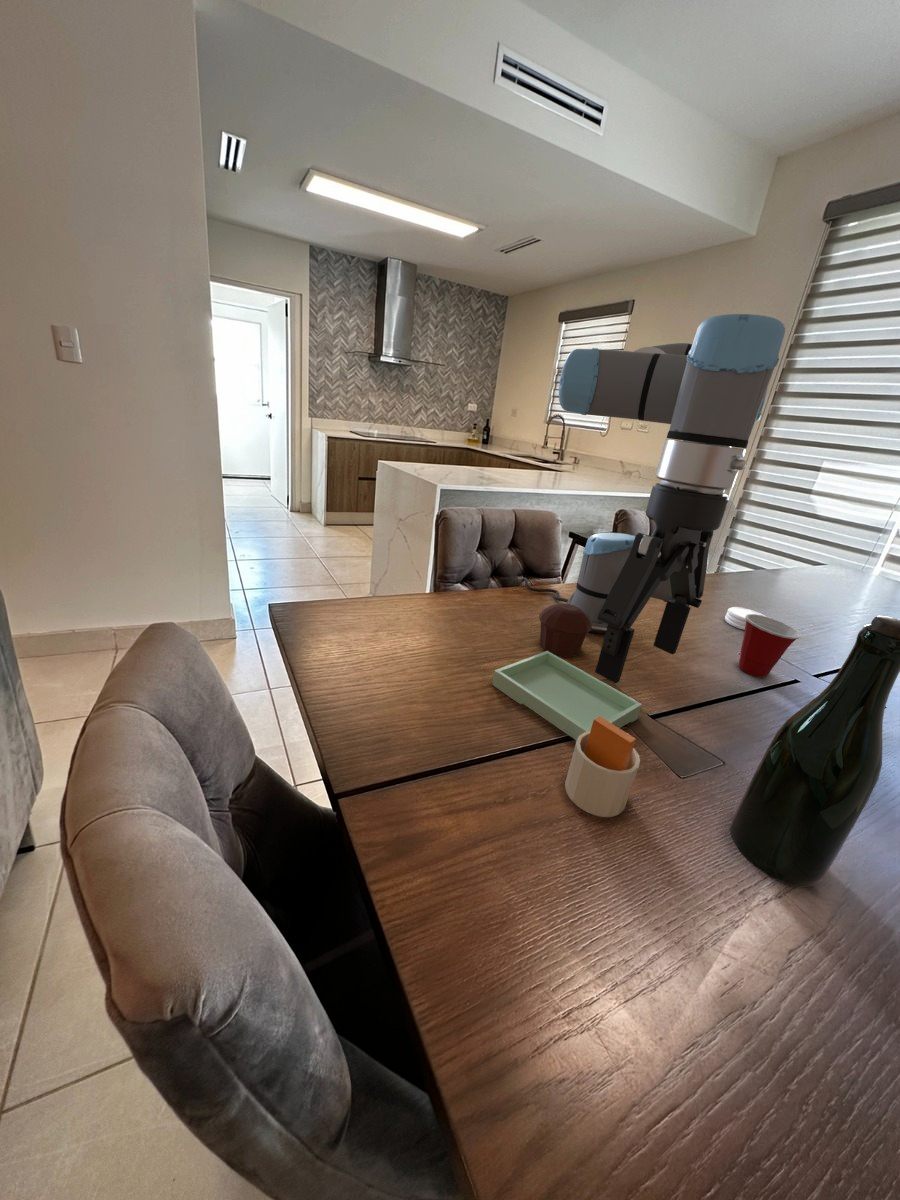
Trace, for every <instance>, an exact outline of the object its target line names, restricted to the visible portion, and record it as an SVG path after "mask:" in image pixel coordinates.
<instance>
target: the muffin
mask: <svg viewBox="0 0 900 1200" xmlns="http://www.w3.org/2000/svg"><path fill="white" fill-rule="evenodd" d="M538 619H539V621H540V636H539V644H540V646H541V647H542V649H543V650H544V652H545V651H549V652H550V653H552V654H554V655H556V656H557V657H564V658H570V657H575V656H578V655H579V652H580V650H581V648H582V646H583V643H584V641H585V639H586V636H587V634H588V633H590V632H589V631H590V630H591V629H592V624H591V622H590V618H589V617H588V615H587V614H586V613H585V612H583V611H582V610H581V609H580V608H578V607H576V606H574V605H570V604H566V603H565V602H561V603H555V604H551V605H549V606H547V607H545V608H544V609H543V610H542V611H541V612H540V613H539V618H538Z"/></svg>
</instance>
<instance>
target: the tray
mask: <svg viewBox="0 0 900 1200" xmlns="http://www.w3.org/2000/svg"><path fill="white" fill-rule="evenodd" d="M492 678H493V679H492V681H491V682H492V683H491V686H493V687H495V688H496V689H497V690H499V691H500V692H502V693H503V694H505V695H506V696H508V698H510V699H511V700H513V701H515V702H516V703H518V704H519V705H524V706H526V707H527V708H529V709H530V710H531V711H533V712H534V713H536V714H537V715H539V716H540V717H542V718H543V719H545V720H546V721H547V722H549V723H550V724H552V725H553V726H555V727H557V728H558V729H559V730H560V731H562V732H563V733H565V734H566V735H568V736H569V737H570V738H571V739H574V740H575V742H576V741H577V739H578V737H579V735H581V734H583V733H585V732H588V731H591V728H592V724H593V720H594V719H595V718H597V717H599V716H600V717H602V718H603V719H605V720H607V721H608V722H610V723H611V724H613V725H615V726H616V727H618V728H619V729H621V728H623V727H625V726H626V725H628V724H629V723H634V722H636V721H637V720H638V718H639V716H640V713H641V709H642V707H643V703H641V702H640V701H637V700H635V699H634V698H633V697H630V696H628V695H627V694H625V693H623V692H621V691H620V690H618V689H616V688H614V687H612V686H610V685H609V684H608V683H605V682H604V681H602V680H601V679H598V678H597V677H595V676H593V675H592V674H590V673H588V672H586V671H584V670H583V669H581V668H579V667H577V666H575V665H573V664H571V663H570V662H568V661H566V660H564V659H563V658H561V657H560V656H557V655H554V654H552V653H550V652H549V651H545V650H544V651H543V652H540V653H537V654H534V655H532V656H529V657H527V658H523V659H521V660H519V661H516V662H514V663H511V664H508V665H505V666H502V667H499V668H497V669H495V670H494V672H493V677H492Z"/></svg>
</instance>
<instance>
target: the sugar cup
mask: <svg viewBox="0 0 900 1200" xmlns="http://www.w3.org/2000/svg"><path fill="white" fill-rule="evenodd" d="M589 735H590V731H588V732H585V733H583V734H581V735H579V737H578V739H577V741H576V740H575V745H574V748H573V753H572V756H571V760H570V763H569V767H568V771H567V774H566V778H565V781H564V786H565V791H566V794H567V796H568V798H569V799H570V800H571V802H572V803H573V804H574V805H576V806H577V808H579V809H581V810H582V811H584V812H586V813H588V814H591V815H593V816H596V817H601V818H612V817H616V816H619V815H620V814H621V813H622V812H623V811H625V809H626V806H627V803H628V800H629V797H630V794H631V791H632V789H633V785H634V783H635V780H636V776H637V774H638V772H639V767H640V763H641V757H640V755H639V753H638V751H637V750H636V749H635V748H634V747H633V750H632V753H631V756H630V759H629V762H628V765H627V768H626V770H623V771H617V770H610V769H607V768H604V767H602V766H599V765H597V764H595V763H594V762H593V761H591V760H590V759H588V758H587V757H586V755H585V754H584V752H585V749H586V745H587V742H588V738H589Z"/></svg>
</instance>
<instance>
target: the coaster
mask: <svg viewBox="0 0 900 1200" xmlns="http://www.w3.org/2000/svg"><path fill="white" fill-rule="evenodd" d="M747 614H757V615H762V616H765V615H764V614H762V613H760V612H758V611H756V610H753V609H750V608H746V607H740V606H731V607H729V608H728V609H727V612H726V614H725V616H724V621H725V622H726V623H727V624H729V625H731V626H732V627H734V628H737V629H739V630H742V631H745V626H746V625H745V624H746V618H745V617H746V615H747Z"/></svg>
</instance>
